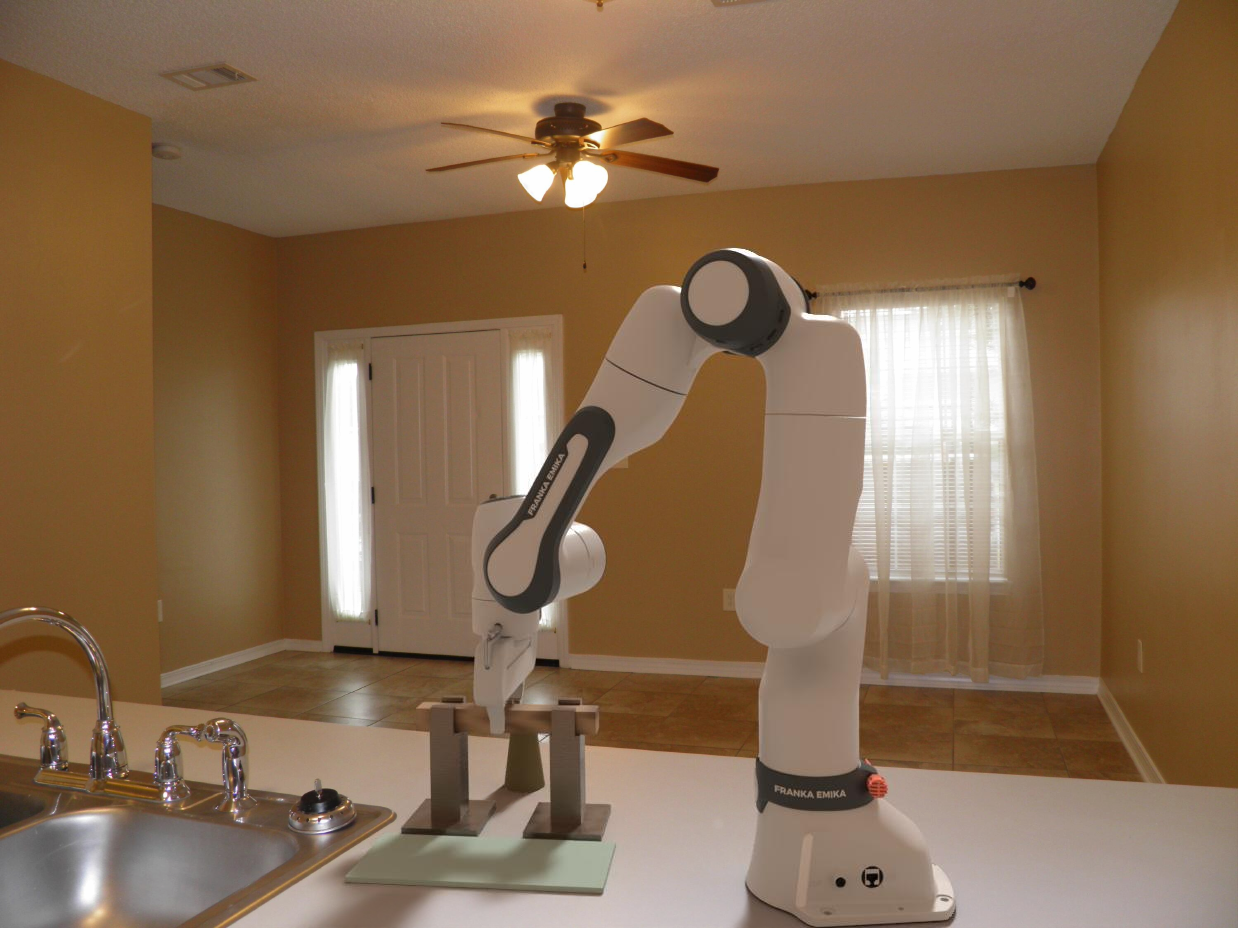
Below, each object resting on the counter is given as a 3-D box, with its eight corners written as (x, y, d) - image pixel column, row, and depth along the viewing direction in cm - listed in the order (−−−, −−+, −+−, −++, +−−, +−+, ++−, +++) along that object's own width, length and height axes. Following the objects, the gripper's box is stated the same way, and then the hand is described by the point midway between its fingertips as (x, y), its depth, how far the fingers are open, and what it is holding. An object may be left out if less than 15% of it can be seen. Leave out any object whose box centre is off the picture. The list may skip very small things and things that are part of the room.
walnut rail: (599, 727, 122) (598, 705, 122) (595, 734, 119) (595, 711, 119) (423, 723, 125) (423, 701, 125) (416, 730, 122) (415, 708, 122)
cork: (525, 795, 132) (524, 718, 132) (495, 786, 136) (494, 712, 136) (553, 782, 137) (552, 709, 137) (523, 774, 140) (522, 702, 140)
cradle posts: (610, 811, 126) (609, 694, 125) (601, 842, 116) (599, 715, 115) (426, 805, 129) (424, 690, 128) (401, 835, 119) (399, 711, 119)
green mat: (615, 846, 115) (615, 841, 115) (603, 893, 103) (602, 887, 103) (383, 837, 118) (383, 833, 118) (344, 881, 106) (344, 876, 106)
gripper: (511, 633, 111) (512, 747, 111) (544, 604, 131) (545, 701, 132) (460, 633, 112) (461, 746, 112) (501, 604, 132) (502, 700, 132)
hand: (506, 721), depth 122 cm, fingers open, 8 cm apart
